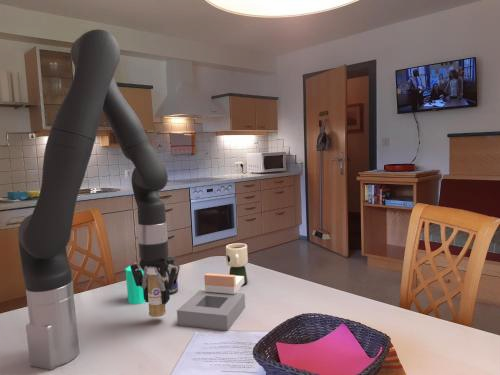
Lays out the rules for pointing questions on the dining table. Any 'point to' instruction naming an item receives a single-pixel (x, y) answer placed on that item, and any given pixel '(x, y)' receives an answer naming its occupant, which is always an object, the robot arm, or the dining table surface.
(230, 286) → the panel
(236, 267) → the character mug
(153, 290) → the sprinkles bottle
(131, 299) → the candle
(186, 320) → the socket block
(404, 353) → the dining table surface
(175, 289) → the pill bottle
